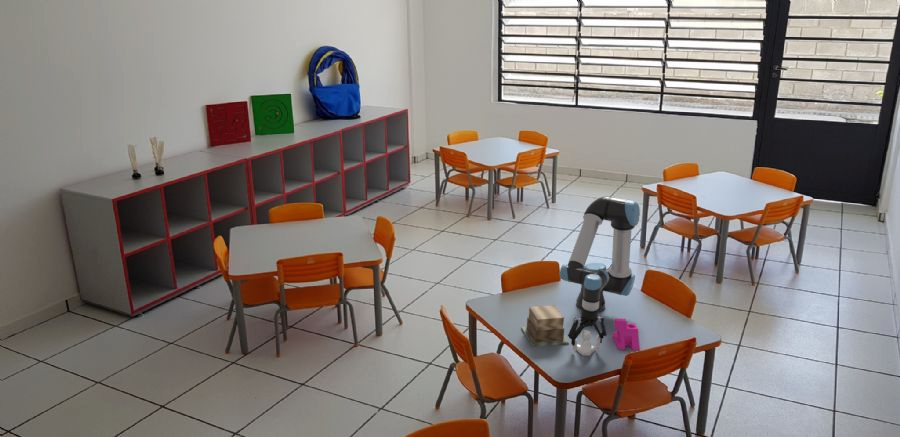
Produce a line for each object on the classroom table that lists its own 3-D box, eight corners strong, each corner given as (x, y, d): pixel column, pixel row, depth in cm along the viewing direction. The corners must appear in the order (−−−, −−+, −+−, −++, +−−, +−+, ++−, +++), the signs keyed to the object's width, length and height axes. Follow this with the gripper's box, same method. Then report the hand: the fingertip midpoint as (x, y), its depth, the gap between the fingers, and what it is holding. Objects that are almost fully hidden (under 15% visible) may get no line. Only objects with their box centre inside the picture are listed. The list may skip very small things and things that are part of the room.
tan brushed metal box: (555, 325, 357) (557, 302, 352) (568, 343, 340) (570, 319, 336) (521, 328, 353) (523, 304, 349) (532, 346, 337) (534, 322, 332)
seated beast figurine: (595, 349, 336) (597, 326, 332) (596, 358, 328) (598, 335, 324) (575, 347, 338) (577, 324, 334) (575, 356, 330) (577, 333, 326)
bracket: (612, 337, 348) (614, 318, 344) (633, 337, 348) (635, 318, 344) (617, 349, 337) (620, 330, 333) (639, 350, 337) (642, 331, 333)
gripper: (610, 302, 331) (605, 344, 338) (563, 305, 326) (559, 347, 334) (617, 309, 324) (612, 352, 331) (568, 313, 319) (564, 356, 327)
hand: (585, 350), depth 333 cm, fingers open, 11 cm apart
